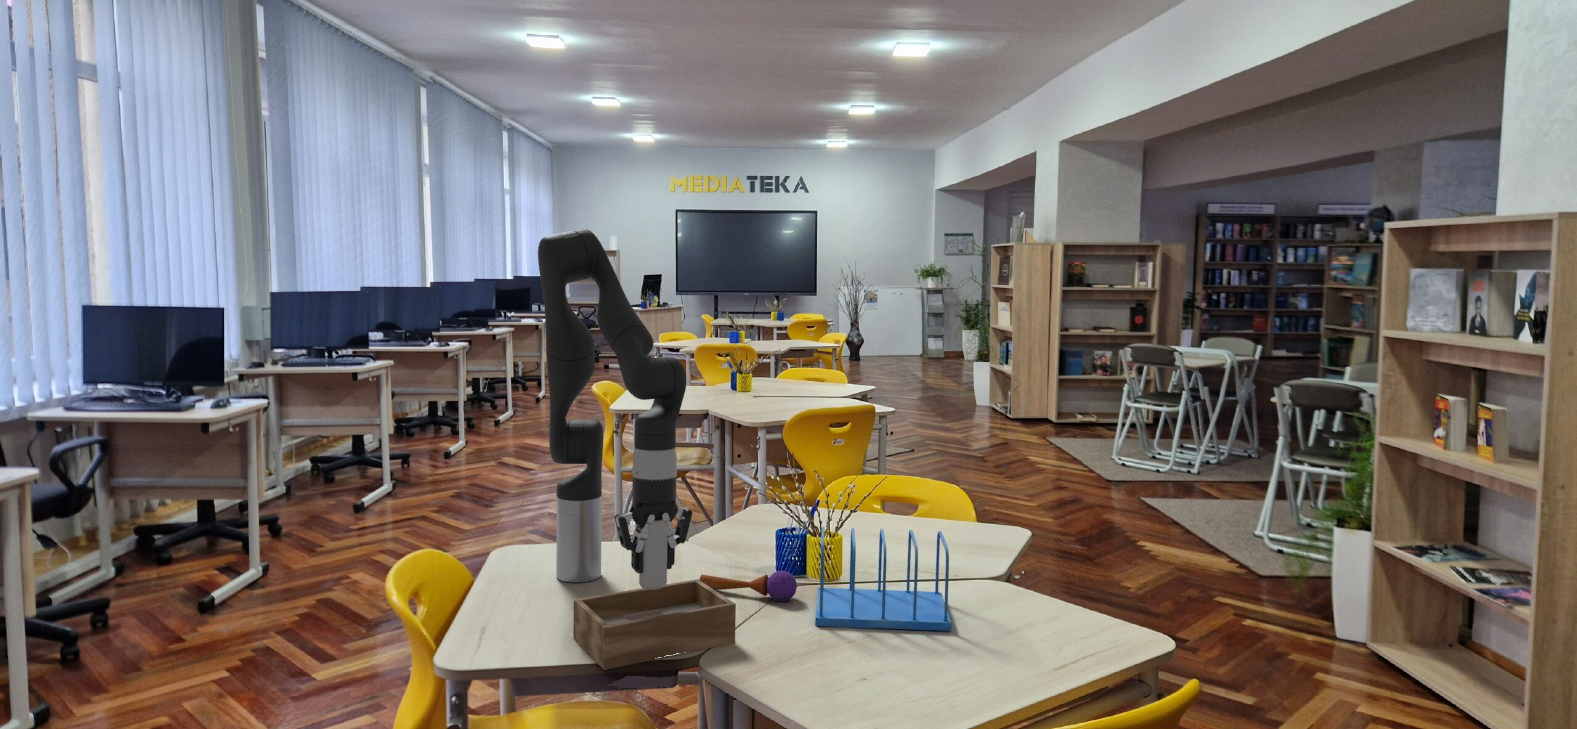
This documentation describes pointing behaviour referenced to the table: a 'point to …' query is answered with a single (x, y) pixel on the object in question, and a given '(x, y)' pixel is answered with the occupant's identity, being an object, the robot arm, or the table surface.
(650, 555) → the beverage can
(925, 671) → the table surface
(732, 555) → the table surface
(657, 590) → the box
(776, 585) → the purple maraca
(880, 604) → the file sorter
